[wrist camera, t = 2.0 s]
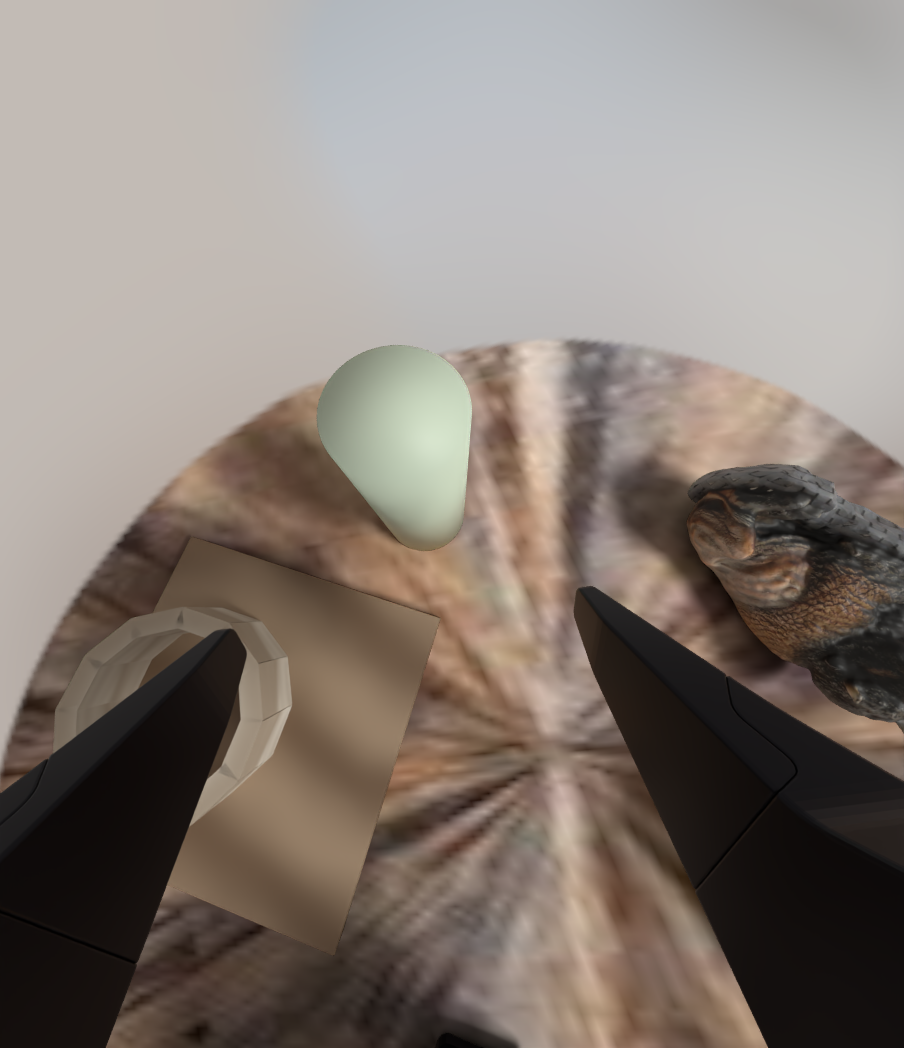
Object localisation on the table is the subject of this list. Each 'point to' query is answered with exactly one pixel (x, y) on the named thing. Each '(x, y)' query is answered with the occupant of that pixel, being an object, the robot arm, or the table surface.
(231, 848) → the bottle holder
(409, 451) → the pale green peg
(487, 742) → the table surface
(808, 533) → the dark brown lumpy piece
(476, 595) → the table surface
